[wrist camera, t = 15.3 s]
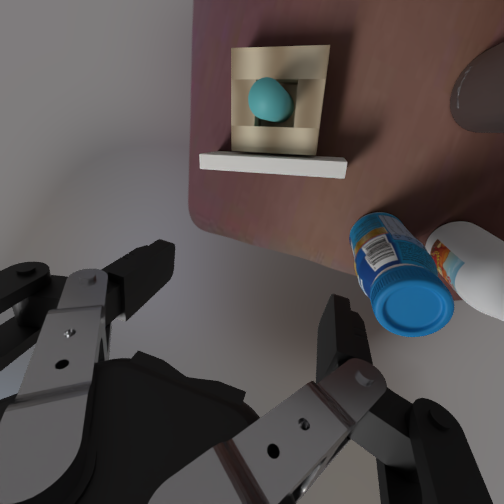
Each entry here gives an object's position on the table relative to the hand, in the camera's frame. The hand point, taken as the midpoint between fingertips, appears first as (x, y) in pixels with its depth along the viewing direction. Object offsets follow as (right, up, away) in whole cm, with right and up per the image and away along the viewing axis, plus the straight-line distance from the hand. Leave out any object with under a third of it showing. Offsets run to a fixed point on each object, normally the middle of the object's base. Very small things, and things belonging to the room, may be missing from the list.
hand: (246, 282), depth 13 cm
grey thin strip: (+31, +3, +27) cm, 41 cm away
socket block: (+5, +23, +25) cm, 34 cm away
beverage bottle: (+20, +4, +29) cm, 36 cm away
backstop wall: (+4, +16, +28) cm, 32 cm away
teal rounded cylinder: (+4, +22, +24) cm, 33 cm away
